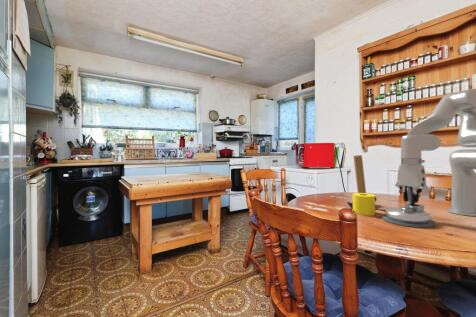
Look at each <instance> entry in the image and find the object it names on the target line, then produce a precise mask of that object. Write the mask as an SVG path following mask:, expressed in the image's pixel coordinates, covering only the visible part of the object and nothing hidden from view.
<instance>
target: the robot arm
mask: <svg viewBox="0 0 476 317" xmlns="http://www.w3.org/2000/svg"><path fill="white" fill-rule="evenodd" d="M457 114H458V116H459V118H460V123H459V128H458V134H457V140H456V141H457V144H458V146H460V147H462V148H472V149H457V150H454V151H452V152H451V153H450V154H449V160H448V161H449V164H450V171H451V207H448V208H447V213H448V212H449V213H451V214H454V215H455V214H456V215H460V216H466V217H467V216H469V217H476V172H475V171H474V170H476V149H473V148H476V88H470V89H469V88H468V89H465V90H460V91H456V92H451V93H448V94H445V95H444V96H443V97H442V98H441V99H440V100H439V102H438V103H437V104H436V106H435V108H434V109H433V110H432V112H431V113H430V115H429V116H428V117H426V118H425V119H423V120H421V121H419V123H417V124H415V125H414V126H413V127H411V128H410V129H409V131H408V132H407V134H406V135H402V136H401V138H400V164H399V166H398V170H397V181H396V183H395V185H394V186H395V187H396V188H398V189H399V190H401V193H403V194H402V195H403V201H404V202H405V203H407V202H408V200H407V191H406V186H408V187H413V193H414V194H412V202H413V203H415V204H416V203H417V204H418V202H419V195H420V194H421V193H422V192H424V191H427V190H428V189H429V188H428V185H427V177H426V176H427V175H426V170H425V165H423V164H425V159H423V158H422V152H431V151H435V150H437V149H439V148H440V147H441V144H442V141H441V138H440V137H439V136H437V135H435V134H430V133H432V132H435V131H437V130H438V131H439V130H440V129H443V128H445V127H447V126H449V125H450V124H451V123H452V121H453V119H454V118H455V116H456V115H457Z"/></svg>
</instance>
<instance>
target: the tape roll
mask: <svg viewBox="0 0 476 317" xmlns="http://www.w3.org/2000/svg"><path fill="white" fill-rule="evenodd" d="M375 197H376V195H375V194H372V193H367V192H366V193H358V192H354V193H352V203H353V208H352V211H353V210H354V211H355V212H356V213H357V214H356V215H359V216H365V217H366V216H367V217H369V216H371V217H373V216H375V215H376V201H375Z"/></svg>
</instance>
